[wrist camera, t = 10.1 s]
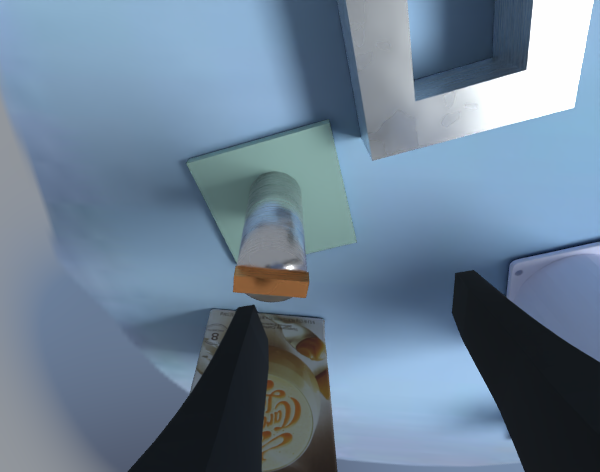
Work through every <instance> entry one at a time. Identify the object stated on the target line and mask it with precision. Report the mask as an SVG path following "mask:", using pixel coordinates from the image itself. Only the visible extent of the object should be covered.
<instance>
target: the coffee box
mask: <svg viewBox="0 0 600 472" xmlns="http://www.w3.org/2000/svg"><path fill="white" fill-rule="evenodd" d="M235 312H236V311H232V310H221V309H211V310H210V314H209V318H208V322H207V326H206V331H205V335H204V339H203V343H202V346H201V350H200V354H199V358H198V363H197V367H196V371H195V374H194V378H193V382H192V386H191V391H190V393H191V392H192V390H193V389H194V387H195V386H196V384H197V382H198V381H199V379H200V378H201V376H202V374H203V373H204V371H205V369H206V368H207V366H208V364H209V363H210V361H211V359H212V357H213V355H214V354H215V352H216V350H217V348H218V346H219V344H220V342H221V341H222V339H223V337H224V335H225V333H226V331H227V329H228V327H229V325H230V323H231V320H232V318H233V316H234V314H235ZM258 315H259V318H260V320H261V323H262V325H263V328H264V330H265V333H266V335H267V338H268V349H269V370H268V381H267V391H266V401H265V411H264V421H263V433H262V472H337V462H336V451H335V441H334V430H333V418H332V407H331V396H330V385H329V374H328V365H327V353H326V345H325V331H324V322H325V321H324V320H323V319H320V318H309V317H298V316H288V315H276V314H265V313H258Z"/></svg>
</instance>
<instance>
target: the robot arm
mask: <svg viewBox="0 0 600 472" xmlns="http://www.w3.org/2000/svg"><path fill="white" fill-rule="evenodd" d="M452 314H453V317H454V319H455V322H456V325H457V327H458V330H459V332H460V335H461V337H462V340H463V342H464V344H465V346H466V348H467V349H468V351H469V353H470V355H471V357H472V359H473V361H474V363H475V365H476V366H477V368H478V370H479V372H480V374H481V376H482V378H483V379H484V381H485V383H486V385H487V387H488V389H489V391H490V392H491V394H492V396H493V398H494V400H495V402H496V404H497V406H498V408H499V410H500V412H501V415H502V417H503V419H504V422H505V424H506V427H507V429H508V431H509V434H510V436H511V439H512V441H513V443H514V446H515V448H516V451H517V453H518V456H519V458H520V461H521V463H522V466H523V468H524V471H525V472H600V242H596V243H591V244H586V245H582V246H577V247H573V248H568V249H563V250H559V251H554V252H549V253H545V254H540V255H535V256H531V257H526V258H521V259H517V260H514V261H513V262H512V263H511V264H510V266H509V276H508V285H507V295H506V297H505V296H504V295H503V294H502V293H501V292H499V291H498V290H497V289H496V288H495V287H493V286H492V285H491V284H490V283H489V282H487V281H486V280H485V279H484V278H483V277H481V276H480V275H479V274H478V273H477V272H475V271H474V270H471V271H465V272H459V273H455V283H454V295H453V307H452ZM268 370H269V349H268V338H267V335H266V333H265V330H264V328H263V325H262V323H261V320H260V318H259V315H258V313H257V310H256V307H255V305H250V306H244V307H238V309H237V310H236V312H235V314H234V316H233V318H232V320H231V323H230V325H229V327H228V329H227V331H226V333H225V335H224V337H223V339H222V341H221V342H220V344H219V346H218V348H217V350H216V352H215V354H214V355H213V357H212V359H211V361H210V363H209V364H208V366H207V368H206V369H205V371H204V373H203V374H202V376H201V378H200V379H199V381H198V382H197V384H196V386H195V387H194V389H193V390H192V392H191V393H190V395H189V396H188V398H187V399H186V401H185V402H184V403H183V405H182V407H181V408H180V409H179V410H178V412H177V413H176V415H175V416H174V417H173V418H172V420H171V421H170V422H169V424H168V425H167V426H166V428H165V429H164V430H163V431H162V433H161V434H160V435H159V436H158V438H157V439H156V440H155V441H154V443H152V445H151V446H150V447H149V448H148V449H147V450H146V451H145V453H144V454H143V455H142V456H141V457H140V458H139V459H138V461H137V462H136V463H135V464H134V465H133V466H132V467H131V469H130V470H129V471H128V472H262V433H263V421H264V411H265V401H266V391H267V381H268Z"/></svg>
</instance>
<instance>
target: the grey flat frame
mask: <svg viewBox="0 0 600 472" xmlns="http://www.w3.org/2000/svg"><path fill="white" fill-rule="evenodd" d="M337 4H338V10H339V15H340V21H341V26H342V32H343V38H344V43H345V49H346V55H347V60H348V66H349V71H350V77H351V83H352V88H353V94H354V99H355V105H356V111H357V116H358V122H359V128H360V133H361V138H362V140H363V142H364V145H365V147H366V149H367V151H368V153H369V155H370V157H371V159H372V161H373V160H377V159H381V158H384V157H388V156H392V155H396V154H400V153H403V152H407V151H411V150H415V149H418V148H422V147H426V146H430V145H433V144H437V143H441V142H445V141H449V140H452V139H456V138H460V137H464V136H467V135H471V134H475V133H479V132H483V131H486V130H490V129H494V128H498V127H501V126H505V125H509V124H513V123H517V122H520V121H524V120H528V119H532V118H535V117H539V116H543V115H547V114H550V113H554V112H558V111H562V110H566V109H569V108H573V107H574V103H575V98H576V93H577V87H578V82H579V76H580V71H581V65H582V60H583V54H584V49H585V43H586V38H587V32H588V27H589V21H590V16H591V11H592V5H593V0H495V8H494V31H493V53H492V58H489V59H486V60H482V61H479V62H475V63H472V64H468V65H465V66H462V67H458V68H455V69H451V70H448V71H444V72H441V73H438V74H434V75H431V76H427V77H424V78H420V79H417V80H413V68H412V56H411V43H410V31H409V18H408V5H407V0H337Z"/></svg>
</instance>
